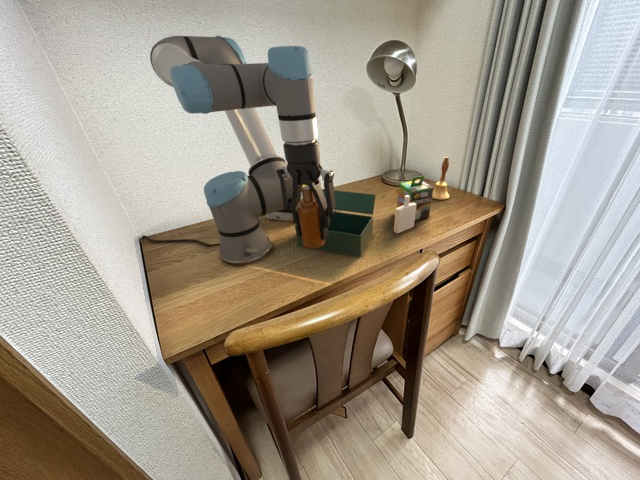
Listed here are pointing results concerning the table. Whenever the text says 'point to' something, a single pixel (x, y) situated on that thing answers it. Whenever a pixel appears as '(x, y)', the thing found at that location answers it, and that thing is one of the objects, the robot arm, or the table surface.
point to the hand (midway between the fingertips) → (313, 235)
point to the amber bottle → (309, 219)
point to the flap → (354, 202)
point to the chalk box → (416, 196)
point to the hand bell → (442, 183)
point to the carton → (346, 233)
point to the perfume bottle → (405, 216)
